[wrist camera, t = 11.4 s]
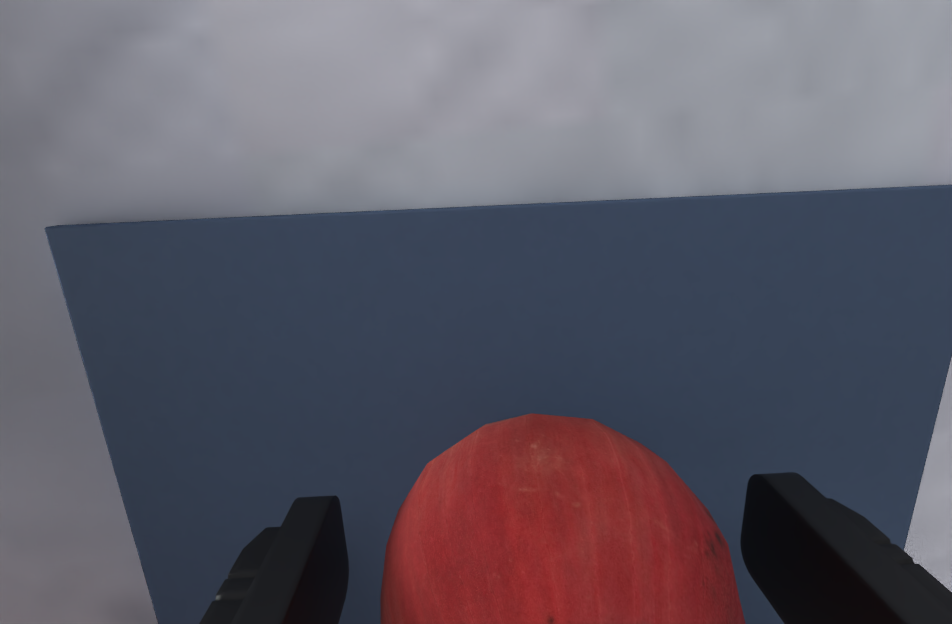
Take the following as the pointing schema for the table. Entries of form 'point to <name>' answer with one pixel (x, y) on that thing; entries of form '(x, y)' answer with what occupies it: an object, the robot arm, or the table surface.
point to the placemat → (505, 357)
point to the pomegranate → (555, 534)
